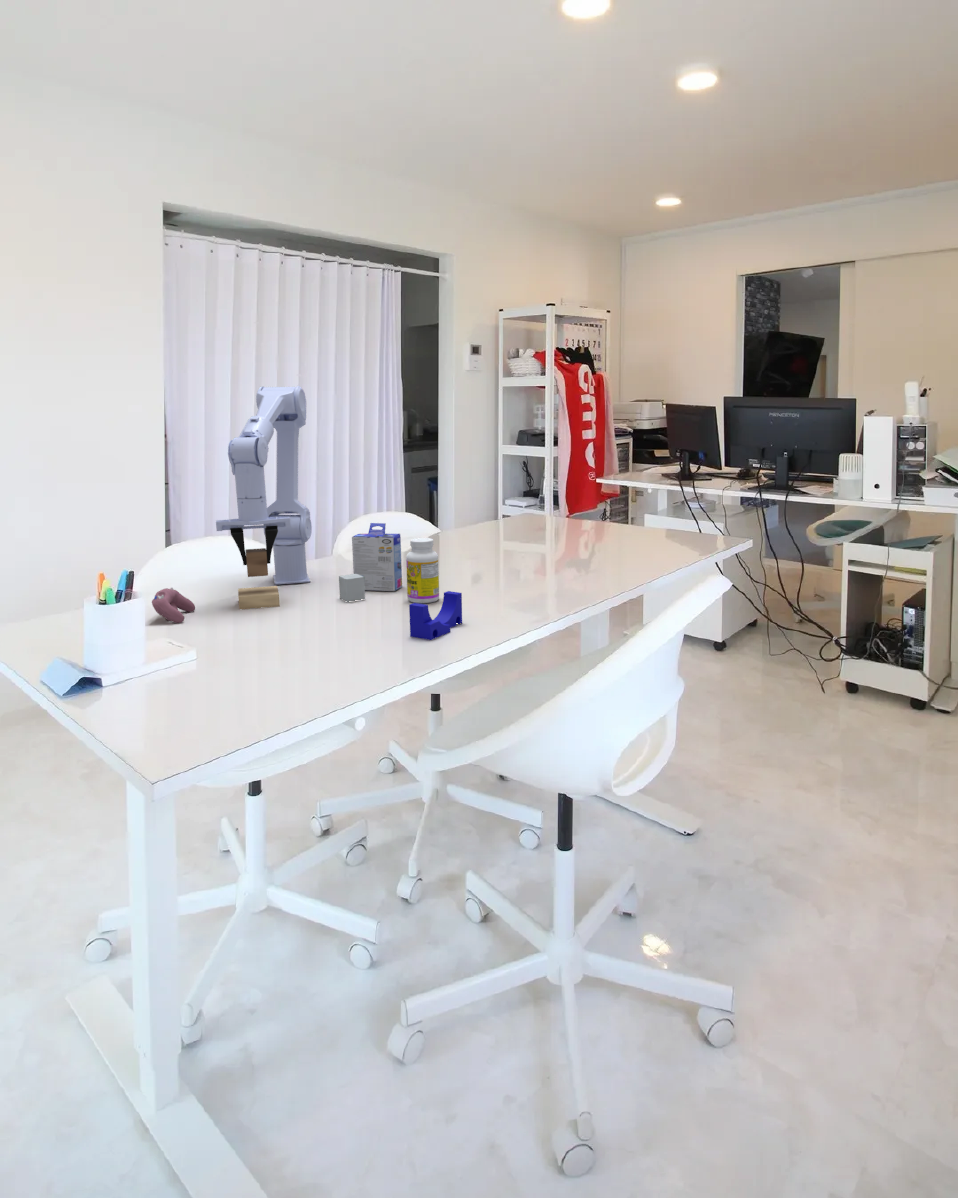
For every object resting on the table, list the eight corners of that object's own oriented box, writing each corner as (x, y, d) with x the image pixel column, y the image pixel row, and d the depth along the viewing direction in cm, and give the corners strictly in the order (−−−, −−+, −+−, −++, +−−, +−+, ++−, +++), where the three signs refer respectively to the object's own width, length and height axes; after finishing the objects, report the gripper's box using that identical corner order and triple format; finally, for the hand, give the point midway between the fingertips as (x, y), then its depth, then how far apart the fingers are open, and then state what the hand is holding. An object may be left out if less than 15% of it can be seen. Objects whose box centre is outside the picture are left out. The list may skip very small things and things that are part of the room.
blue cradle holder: (430, 641, 141) (429, 607, 140) (410, 637, 144) (409, 604, 142) (468, 625, 151) (468, 593, 150) (449, 621, 153) (448, 591, 152)
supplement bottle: (403, 598, 171) (401, 538, 168) (432, 595, 174) (431, 536, 170) (413, 605, 165) (411, 543, 162) (443, 602, 168) (442, 540, 165)
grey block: (340, 598, 172) (338, 575, 170) (357, 596, 174) (356, 573, 173) (347, 602, 168) (346, 579, 167) (365, 600, 170) (363, 576, 169)
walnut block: (247, 573, 168) (245, 549, 167) (267, 571, 169) (265, 548, 168) (248, 577, 164) (246, 552, 163) (268, 575, 165) (266, 551, 164)
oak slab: (239, 602, 171) (238, 588, 171) (278, 599, 174) (277, 585, 173) (239, 611, 164) (238, 597, 163) (280, 608, 166) (278, 594, 165)
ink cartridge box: (403, 586, 182) (401, 522, 179) (396, 592, 177) (393, 526, 173) (361, 585, 184) (358, 521, 181) (353, 590, 179) (350, 525, 175)
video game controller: (178, 618, 164) (159, 589, 162) (198, 608, 163) (179, 578, 162) (164, 632, 154) (143, 601, 152) (185, 621, 154) (164, 589, 152)
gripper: (213, 501, 158) (219, 569, 161) (289, 497, 162) (294, 564, 165) (214, 497, 164) (220, 563, 167) (287, 494, 168) (291, 558, 171)
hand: (256, 563), depth 167 cm, fingers closed on walnut block, 4 cm apart
